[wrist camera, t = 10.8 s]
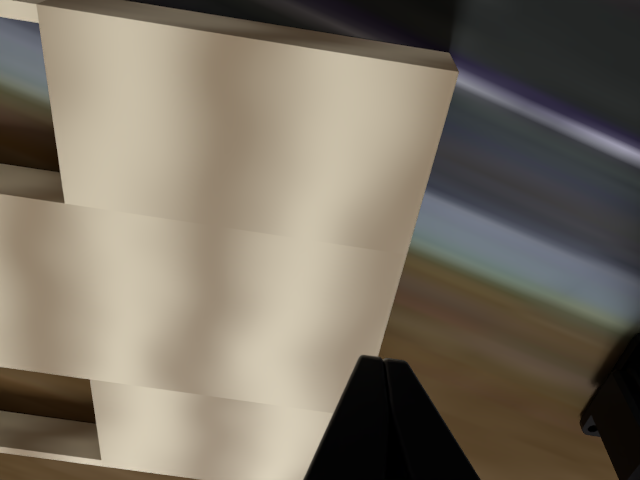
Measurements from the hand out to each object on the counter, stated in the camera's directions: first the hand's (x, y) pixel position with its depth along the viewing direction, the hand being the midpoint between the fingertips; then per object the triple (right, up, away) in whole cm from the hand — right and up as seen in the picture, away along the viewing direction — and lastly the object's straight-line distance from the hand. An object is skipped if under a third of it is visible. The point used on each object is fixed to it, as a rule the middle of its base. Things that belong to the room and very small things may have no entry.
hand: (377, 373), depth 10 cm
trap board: (-12, +1, +13) cm, 18 cm away
